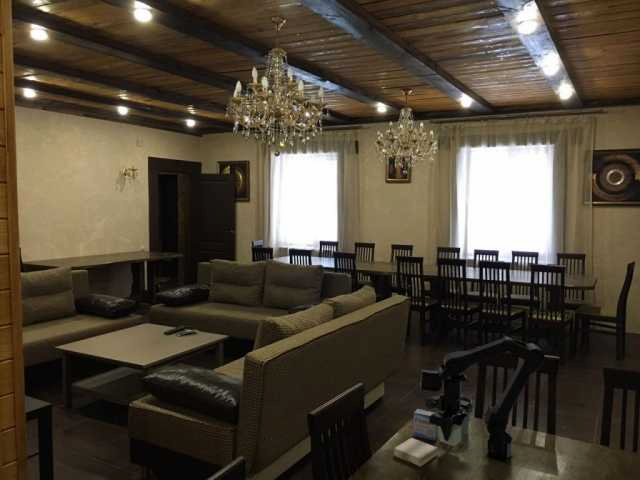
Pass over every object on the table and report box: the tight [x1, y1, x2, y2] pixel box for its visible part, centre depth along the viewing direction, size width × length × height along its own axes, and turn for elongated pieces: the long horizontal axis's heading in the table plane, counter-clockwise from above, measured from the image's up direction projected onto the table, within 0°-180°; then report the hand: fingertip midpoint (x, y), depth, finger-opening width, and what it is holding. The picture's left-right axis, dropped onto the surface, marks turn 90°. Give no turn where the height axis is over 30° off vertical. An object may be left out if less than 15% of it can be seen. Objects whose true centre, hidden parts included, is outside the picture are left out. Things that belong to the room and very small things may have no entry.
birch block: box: [393, 437, 438, 467], centre depth 175 cm, size 10×10×3 cm
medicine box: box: [412, 408, 439, 441], centre depth 188 cm, size 8×4×9 cm, turn 62°
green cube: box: [439, 424, 462, 447], centre depth 177 cm, size 5×5×5 cm
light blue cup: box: [451, 395, 473, 438], centre depth 192 cm, size 10×10×12 cm
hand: (450, 437), depth 177 cm, fingers closed on green cube, 5 cm apart
